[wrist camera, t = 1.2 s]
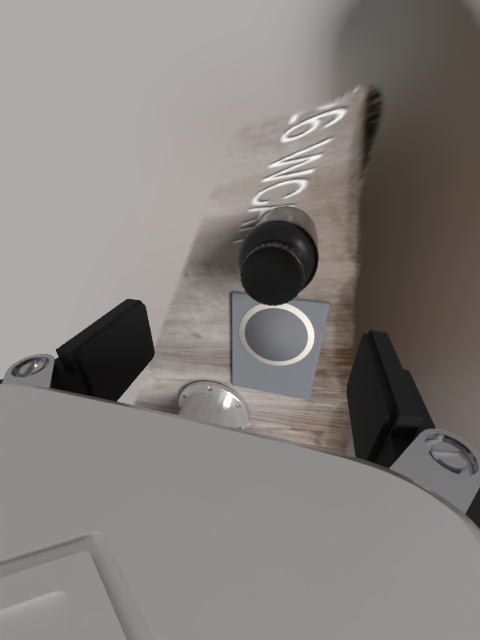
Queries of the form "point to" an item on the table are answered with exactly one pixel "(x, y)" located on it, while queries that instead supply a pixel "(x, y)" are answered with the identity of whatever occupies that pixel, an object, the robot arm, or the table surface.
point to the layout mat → (277, 344)
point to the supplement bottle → (279, 256)
